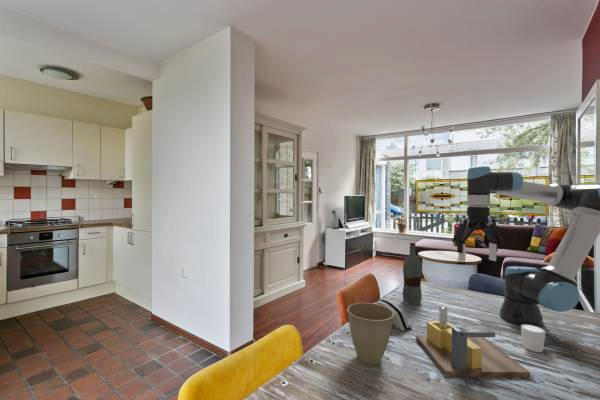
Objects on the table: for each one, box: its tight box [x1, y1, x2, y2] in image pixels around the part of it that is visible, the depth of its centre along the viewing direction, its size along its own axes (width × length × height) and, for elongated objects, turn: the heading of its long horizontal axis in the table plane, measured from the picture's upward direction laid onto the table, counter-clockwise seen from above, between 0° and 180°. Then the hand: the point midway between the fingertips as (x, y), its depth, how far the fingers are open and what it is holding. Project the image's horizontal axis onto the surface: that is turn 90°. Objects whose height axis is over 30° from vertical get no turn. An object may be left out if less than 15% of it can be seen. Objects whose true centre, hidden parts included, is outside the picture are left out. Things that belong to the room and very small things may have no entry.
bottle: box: [402, 242, 423, 306], centre depth 146 cm, size 9×9×30 cm
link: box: [426, 320, 482, 369], centre depth 97 cm, size 20×8×6 cm, turn 10°
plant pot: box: [347, 302, 394, 366], centre depth 95 cm, size 15×15×16 cm
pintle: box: [438, 306, 448, 329], centre depth 103 cm, size 2×2×14 cm
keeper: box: [451, 325, 496, 371], centre depth 87 cm, size 11×4×13 cm, turn 90°
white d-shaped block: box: [376, 298, 413, 331], centre depth 123 cm, size 17×5×10 cm, turn 17°
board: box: [415, 335, 531, 378], centre depth 97 cm, size 25×22×2 cm
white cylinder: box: [520, 324, 547, 353], centre depth 102 cm, size 7×7×7 cm
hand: (477, 260), depth 112 cm, fingers open, 13 cm apart
